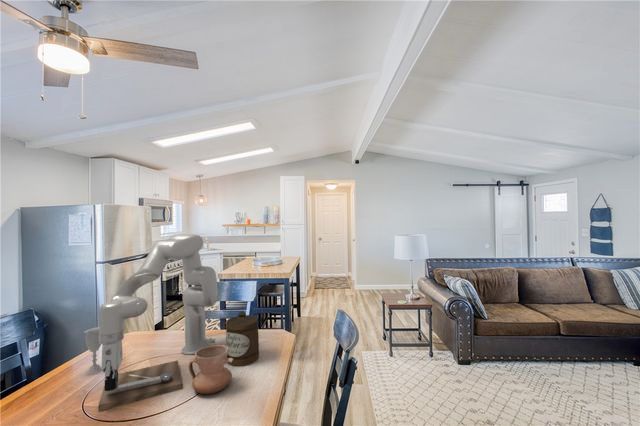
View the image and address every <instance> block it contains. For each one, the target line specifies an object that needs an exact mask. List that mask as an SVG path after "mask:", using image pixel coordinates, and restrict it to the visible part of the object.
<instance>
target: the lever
mask: <svg viewBox="0 0 640 426" xmlns="http://www.w3.org/2000/svg"><path fill="white" fill-rule="evenodd" d="M111 369H113V368H111ZM117 372H118V371H117V370H115V377H116V388H115V389H113V390H108V391H107V395H109V394H113V393H118V392H122V391H126V390H131V389H135V388H139V387H144V386H148V385H152V384H157V383H166V382H169V381H171V380H172V379H173V372H165V373H163V374H161V376H158V377H153V378H149V379H144V380H140V381H135V382H131V383H126V384H121V385H117ZM110 373H112V372H110Z"/></svg>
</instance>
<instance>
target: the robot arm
mask: <svg viewBox="0 0 640 426" xmlns="http://www.w3.org/2000/svg"><path fill="white" fill-rule="evenodd" d="M203 247H204V240H203V238H202V237H201V235H198V234H183V233H182V234H180V233H179V234H174V235H171V236H170V237H169V238H168V239H167V240H166V239H165V240H159V241H156V242H155V243H154V244H153V246H152V247H151V249H150V251H149V252H148V254H147V256H146V257H145V259H144V261H143V262H142V264H141V266H140V268H138V270H137V271H136V272H134V273H132V274H131V275H130V276H129V277H128V278H127V279H125V280H124V281H123V282H122V283H120V285H119V287H118V288H117V289H116V291H115V293H114V295H113V296H112V298H111V299H110V301H108V302H104V303H102V304H101V305H100V306H99V308H98V309H99V310H98V318H99V319H98V327H99V344H101V346H102V348H101V369H102V370H101V371H102V373H104V386H105V391H108V390H113V389H115V388H116V377H115V370H117V383H118V374H119V369H120V367H121V364H122V362H123V360H124V359H123V358H124V357H123V340H124V338H125V320H126V319H132V318H137V317H140V316H142V315H143V314H145V312H146V311H147V309H148V307H149V306H148V302H147V300H146V299H145V298H143V297H140V296H134V294H135V293H137V291H138V290H139V289H140V288H142V287H143V286H145V285H147V284H151V282H154V281H156V280H158V279H159V278H160V277H161V275H162V273H163V271H164V270H165V268H166V266H167V264H168V263H169V261H171V260H172V261H173V260H175V261H177V260H181V261H182V262H181V263H182V272H183V280H184V283H186V284H187V285H189V286H190V287H187V288H186V289H185V290H184V291H183V294H182V304H183V309H184V339H185V340H184V346H182V349H181V353H183V354H184V355H189V356H190V355H195V353H196V351H197V350H199V349H201V348H203V347H207V346H210V344H213V343H216V338H212V337H210V338H207V337H206V310H205V308H212V307H213V306H215V305H216V303H217V301H218V297H219V292H218V280H217V279H218V278H217V272H216V270H215V269H214V268H213V267H212V266H206V265H202V261H201V254H200V251H201V250H202V248H203ZM111 368H113V369H111ZM110 372H112V373H110Z"/></svg>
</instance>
